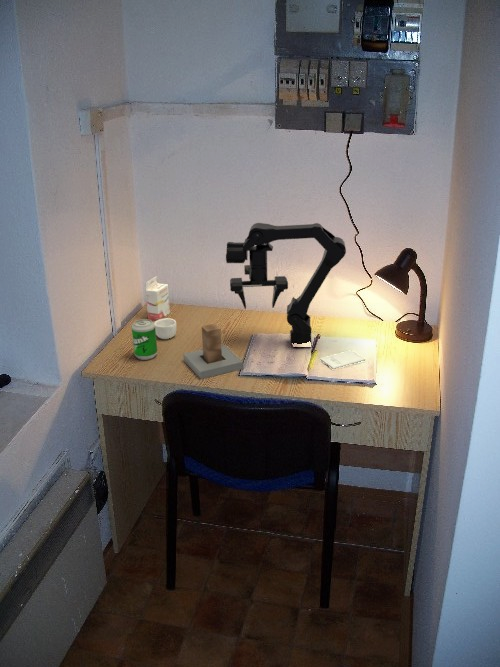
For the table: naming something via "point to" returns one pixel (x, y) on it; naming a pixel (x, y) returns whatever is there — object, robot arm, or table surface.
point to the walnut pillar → (211, 343)
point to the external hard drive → (342, 359)
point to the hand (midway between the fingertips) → (259, 308)
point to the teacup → (165, 328)
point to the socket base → (212, 369)
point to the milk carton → (157, 299)
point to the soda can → (144, 339)
